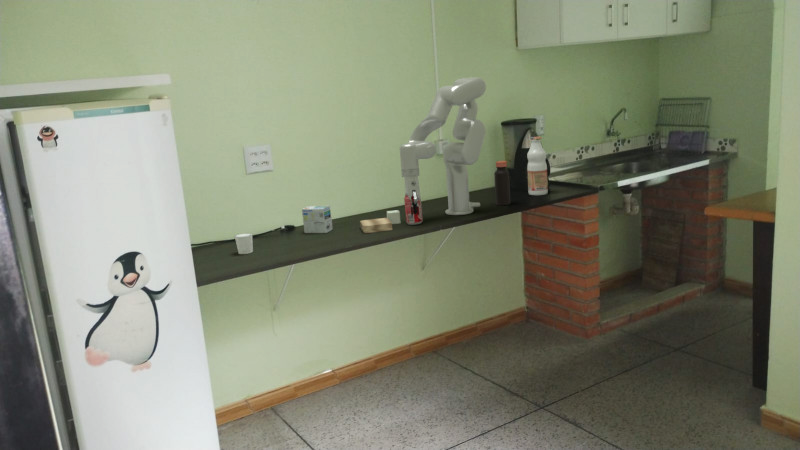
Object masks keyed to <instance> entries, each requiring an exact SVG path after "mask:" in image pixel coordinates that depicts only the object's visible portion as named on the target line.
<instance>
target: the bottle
mask: <svg viewBox="0 0 800 450" xmlns="http://www.w3.org/2000/svg"><path fill="white" fill-rule="evenodd" d="M507 164H508V162H507V161H506V160H498V161H496V162H495V168H496V170H495V172H494V192H495V205H497V206H499V207H501V206H508V205H511V183H510V172H509V170H508V169H507V166H508V165H507Z"/></svg>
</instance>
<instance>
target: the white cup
mask: <svg viewBox="0 0 800 450" xmlns="http://www.w3.org/2000/svg"><path fill="white" fill-rule="evenodd" d="M234 239H235V243H236V248H237V252H238V255H247V254H251V253H253V252H254V246H253V243H254V242H253V241H254V240H253V233H251V232H244V233H238V234H236V235H234Z"/></svg>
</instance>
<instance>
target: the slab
mask: <svg viewBox="0 0 800 450" xmlns="http://www.w3.org/2000/svg"><path fill="white" fill-rule="evenodd" d="M359 224H360V225H359V226H360V229H361V231H362V233H363V234H369V233H378V232H379V233H380V232H387V231H393V224H392V223H391V221H390V220H389V219H388V218H387V217H382V218H372V219H362V220H360V221H359Z"/></svg>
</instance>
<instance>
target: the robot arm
mask: <svg viewBox="0 0 800 450" xmlns="http://www.w3.org/2000/svg"><path fill="white" fill-rule="evenodd" d="M486 84H487V83H486V82H485V80H484V79H483V78H481V77H475V76H474V77H462V78H458V79H456V80H455V81H454V82H453V84H452V85H445V86H444V85H443V86H441V87H440V88H438V89H437V91H436V93H435V95H434V98H433V100H432V102H431V105H430V107H429V110H428V112H427V115H426V116H425V117H424V118H423V119H422V120H421V121H420V122H419V124H417V126H416V127H415V128H414V130H413V131H412V133H411V134H410V136H409V139H408V142H407V143H403V144H402V143H401V145H400V146H399V156H400V157H399V158H400V168H401V171H400V172H401V177H402V178H404V179H403V180H404V193H405V194H406V195H408V197H409V200H411V197H412V195H413V198H414V201H413V200H411V215H412V216H413V213H414V214H417V212H418V215H419V209H418V201H417V197H418V198H419V199H420V198H421V199H422V197H421V190H420V181H419V176H420V168H419V167H420V166H419V165H420V164H419V162H420V161H419V160H429V159H432V158H433V157H435V155H436V153H437V147H436V145H435V144H434V143H433V142H432V141H428V140H426V139H427V137H428V136H430V134H432V133H433V132H434V131H436V130H438V129H440V128H441V127H443V126H444V125H445V124H446V122H447V119H448V117H449V114H450V113H451V110H452V108H453V106H455V107H457V106H458V110H457V114H456V118H455V120H454V124H453V127H452V137H453V138H454V139H455V140H458V141H459V142H456V141H455V142H454V141H453V142H450V143H447V144H446V145H445V146H444V147H443V150H442V158H443V161H444V165H445V175H446V187H447V201H448V205H447V206H448V209H446V210H445V214H446V215H450V216H463V215H468V214H472V213H473V212H474V208H478V207H481V203H480V202H474V201H473V202H472V201H470V191H469V189H470V188H469V173H468V169H467V166H472V165H474V164H475V163H476V162H477V161H478V159H479V157H480V154H481V150H482V148H483V145H484V141H485V137H486V125H485V124H484V123H483V121H481V120H479V119H477V115H478V112H479V111H478V110H479V109H478V103H477V101H476V100H477V99H479V98H480V97H482V96H483V95H484V94H485V92H486V90H487V85H486ZM460 141H462V142H460ZM405 194H404V195H405ZM412 201H413V202H412ZM412 207H413V209H412Z"/></svg>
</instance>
